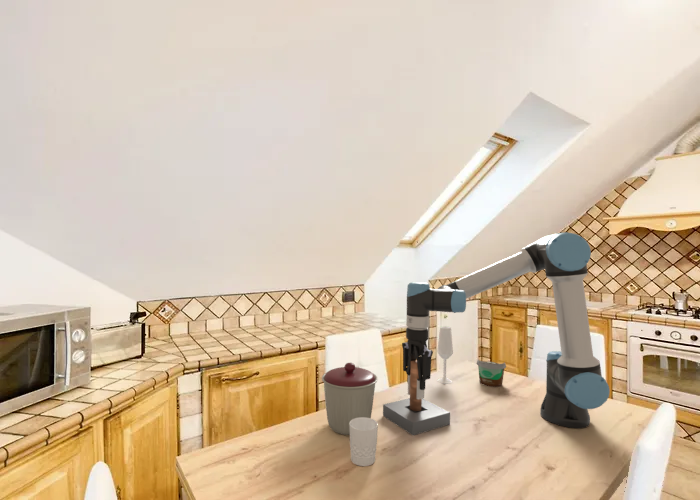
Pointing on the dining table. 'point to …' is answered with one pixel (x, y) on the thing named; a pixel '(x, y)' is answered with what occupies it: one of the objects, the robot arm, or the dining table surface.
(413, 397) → the peg
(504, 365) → the food container
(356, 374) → the canister
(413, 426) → the socket block
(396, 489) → the dining table surface
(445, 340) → the champagne flute
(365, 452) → the white cup
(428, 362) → the robot arm
